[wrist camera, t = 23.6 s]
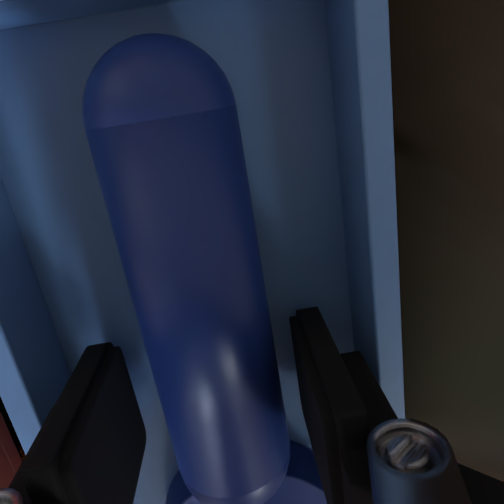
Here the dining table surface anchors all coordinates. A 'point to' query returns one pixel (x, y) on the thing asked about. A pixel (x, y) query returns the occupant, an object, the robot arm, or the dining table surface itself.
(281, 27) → the blue tray
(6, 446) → the rose tray
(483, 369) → the dining table surface
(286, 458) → the blue spoon
